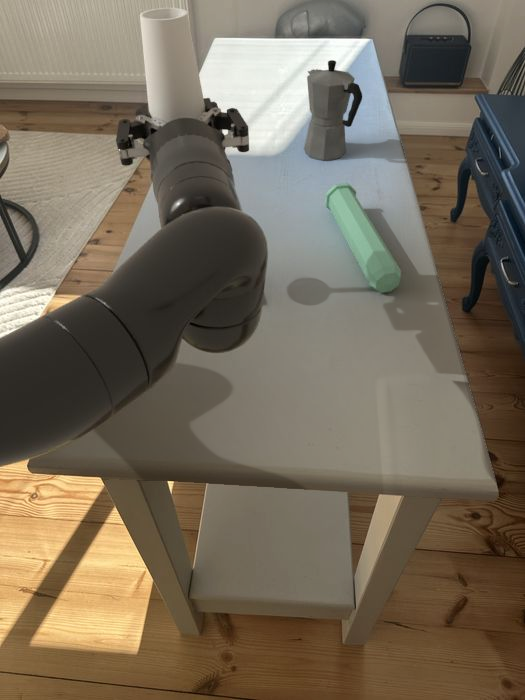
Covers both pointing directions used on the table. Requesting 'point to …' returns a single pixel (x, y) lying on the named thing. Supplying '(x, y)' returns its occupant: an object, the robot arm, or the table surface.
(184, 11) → the champagne flute
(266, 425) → the table surface
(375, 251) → the container
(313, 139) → the coffeepot
